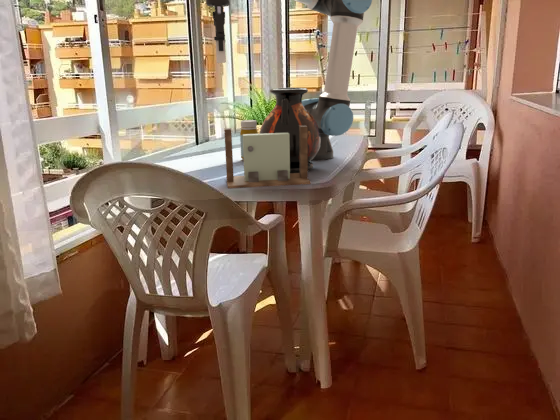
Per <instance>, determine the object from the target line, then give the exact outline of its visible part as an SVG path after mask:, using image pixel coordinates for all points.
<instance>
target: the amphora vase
mask: <svg viewBox="0 0 560 420" xmlns="http://www.w3.org/2000/svg"><path fill="white" fill-rule="evenodd" d="M308 91H309V90H308V88H307V87H276V88H271V89H270V90H269V93H270V94H272V95H274V97H275V105H274V107H273V109H272V110H271V111H270V112H269V113H268V115H267V116H266V117H265V118H264V120H263V122H262V124H261V126H260V129H259V132H258V134H264V133H289V142H290V174H292V173H300V162H299V126H304V125H306V126H307V157H308V172H309V171H312V170H313V168H314V163H312V162H311V161H313V160H312V159H313V158H314V157H315V156H316V154H317V153H318V151H319V148H320V141H321V139H320V132H319V129H318V126H317V123H316V121H315V120H314V118H313V117H312V116H311V115H310V113H309V112H308V111H307V110H306V109H305V108H304V106H303V104H302V100H303V95H305V94H307V93H308Z"/></svg>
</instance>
